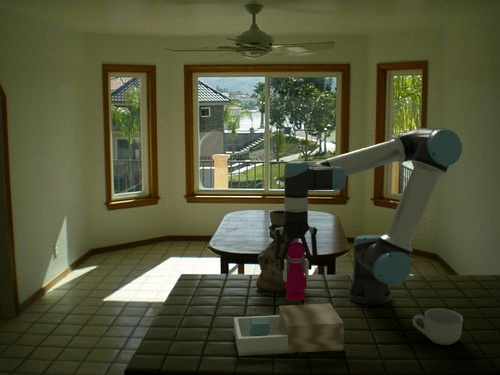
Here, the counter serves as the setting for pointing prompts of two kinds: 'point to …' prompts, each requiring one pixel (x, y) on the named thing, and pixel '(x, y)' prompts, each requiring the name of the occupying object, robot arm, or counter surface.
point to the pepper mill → (295, 272)
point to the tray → (259, 337)
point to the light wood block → (311, 328)
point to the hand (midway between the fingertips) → (295, 279)
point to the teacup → (441, 325)
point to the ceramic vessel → (269, 265)
